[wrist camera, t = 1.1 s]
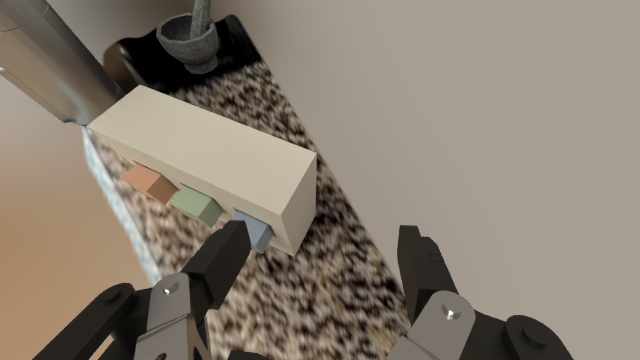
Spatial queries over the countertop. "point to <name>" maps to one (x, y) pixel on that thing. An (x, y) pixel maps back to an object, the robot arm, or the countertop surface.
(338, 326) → the countertop surface
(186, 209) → the sage button
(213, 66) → the mortar and pestle
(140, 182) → the terracotta button
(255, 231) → the blue button
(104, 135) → the control box
